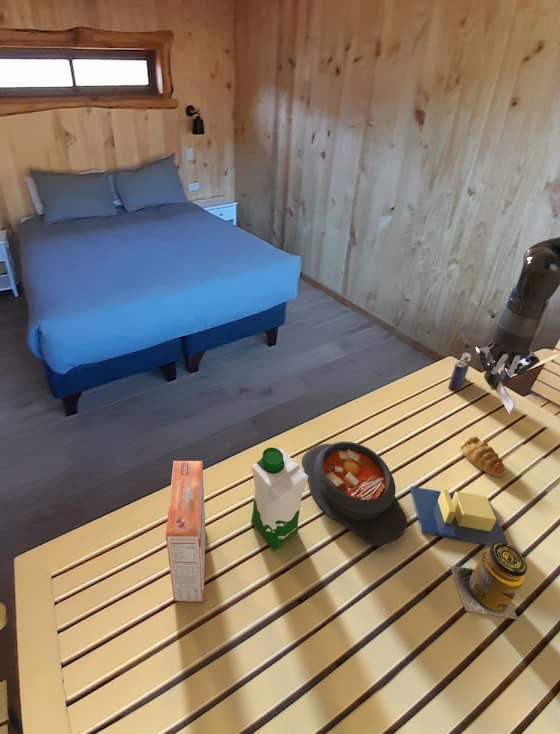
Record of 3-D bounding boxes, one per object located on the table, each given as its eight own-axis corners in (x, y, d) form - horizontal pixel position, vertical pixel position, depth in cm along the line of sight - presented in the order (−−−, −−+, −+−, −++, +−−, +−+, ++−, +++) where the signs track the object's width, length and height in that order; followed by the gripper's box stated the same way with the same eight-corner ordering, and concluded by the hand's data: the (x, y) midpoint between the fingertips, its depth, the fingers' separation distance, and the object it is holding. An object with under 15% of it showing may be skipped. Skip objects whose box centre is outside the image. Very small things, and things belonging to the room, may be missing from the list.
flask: (456, 373, 126) (466, 346, 121) (467, 378, 124) (477, 350, 119) (446, 388, 120) (455, 360, 115) (456, 393, 118) (467, 365, 113)
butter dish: (487, 502, 89) (494, 487, 86) (508, 549, 80) (516, 534, 78) (409, 489, 92) (414, 474, 90) (421, 533, 83) (427, 518, 81)
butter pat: (443, 501, 88) (448, 490, 86) (451, 524, 84) (456, 512, 82) (437, 500, 88) (442, 488, 86) (444, 523, 84) (449, 511, 82)
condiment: (517, 619, 70) (543, 582, 64) (465, 611, 71) (485, 573, 66) (497, 573, 76) (518, 536, 71) (449, 566, 78) (466, 529, 72)
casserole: (426, 525, 85) (435, 500, 81) (360, 568, 77) (368, 543, 74) (341, 438, 105) (345, 415, 101) (282, 466, 98) (285, 442, 94)
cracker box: (178, 525, 86) (172, 458, 76) (206, 525, 85) (204, 459, 76) (171, 602, 73) (163, 534, 64) (204, 604, 73) (201, 536, 63)
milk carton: (274, 499, 90) (281, 437, 81) (304, 533, 83) (315, 469, 74) (244, 521, 86) (247, 458, 77) (273, 559, 79) (280, 495, 70)
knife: (483, 376, 104) (487, 367, 103) (492, 377, 104) (495, 368, 102) (505, 413, 93) (509, 404, 92) (515, 415, 92) (519, 405, 91)
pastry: (510, 472, 95) (516, 461, 93) (490, 482, 93) (495, 471, 91) (474, 442, 103) (479, 431, 101) (454, 450, 101) (458, 439, 99)
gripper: (490, 332, 91) (469, 390, 99) (561, 339, 88) (533, 398, 96) (478, 314, 97) (459, 370, 105) (543, 321, 94) (519, 377, 102)
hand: (494, 383), depth 100 cm, fingers closed on knife, 2 cm apart
